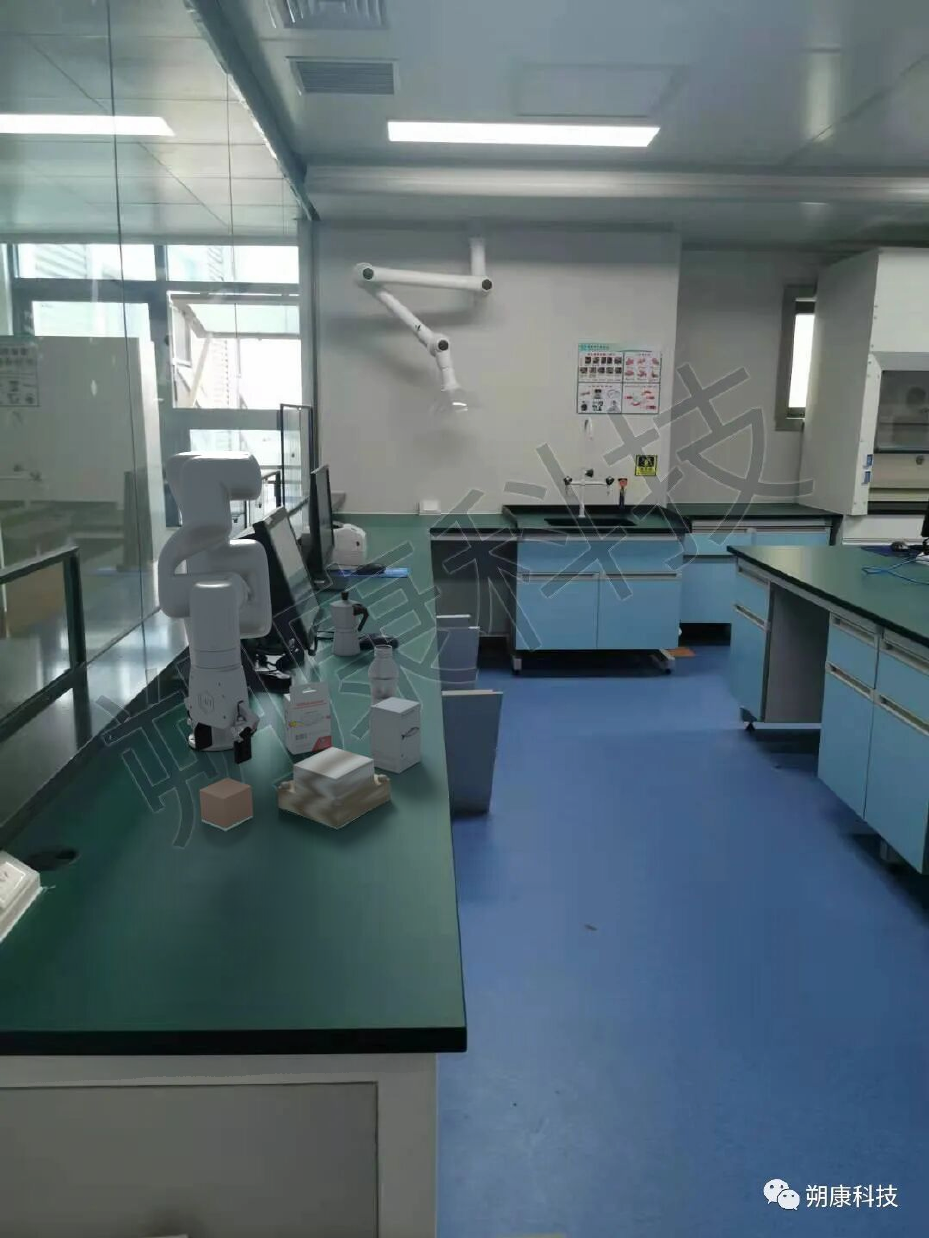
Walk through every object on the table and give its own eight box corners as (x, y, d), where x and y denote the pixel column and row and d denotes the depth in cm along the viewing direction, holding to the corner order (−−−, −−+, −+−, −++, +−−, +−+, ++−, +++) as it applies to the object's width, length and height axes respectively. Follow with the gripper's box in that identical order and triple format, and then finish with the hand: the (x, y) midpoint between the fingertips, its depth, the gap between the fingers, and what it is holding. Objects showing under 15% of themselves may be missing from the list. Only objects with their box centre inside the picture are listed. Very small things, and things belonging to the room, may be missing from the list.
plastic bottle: (395, 743, 177) (394, 652, 172) (365, 740, 178) (363, 650, 173) (403, 732, 183) (403, 644, 178) (374, 729, 184) (372, 642, 180)
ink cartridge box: (324, 740, 178) (322, 674, 175) (332, 748, 174) (330, 680, 171) (285, 746, 174) (282, 679, 171) (291, 755, 170) (288, 686, 167)
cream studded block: (278, 808, 148) (276, 766, 146) (332, 780, 159) (331, 740, 157) (337, 830, 140) (336, 786, 138) (390, 799, 151) (389, 758, 149)
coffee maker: (319, 651, 243) (317, 591, 239) (340, 645, 250) (339, 586, 246) (358, 660, 235) (356, 598, 231) (378, 653, 242) (377, 592, 238)
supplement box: (399, 774, 162) (399, 713, 159) (369, 765, 166) (368, 705, 163) (421, 761, 168) (421, 702, 165) (392, 753, 172) (391, 695, 169)
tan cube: (201, 822, 143) (199, 789, 141) (229, 808, 147) (227, 777, 146) (225, 832, 139) (223, 799, 138) (253, 818, 144) (251, 786, 143)
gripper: (163, 653, 138) (171, 750, 142) (235, 671, 129) (241, 774, 133) (200, 643, 144) (207, 737, 148) (271, 660, 135) (276, 759, 139)
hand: (223, 754), depth 140 cm, fingers open, 9 cm apart
